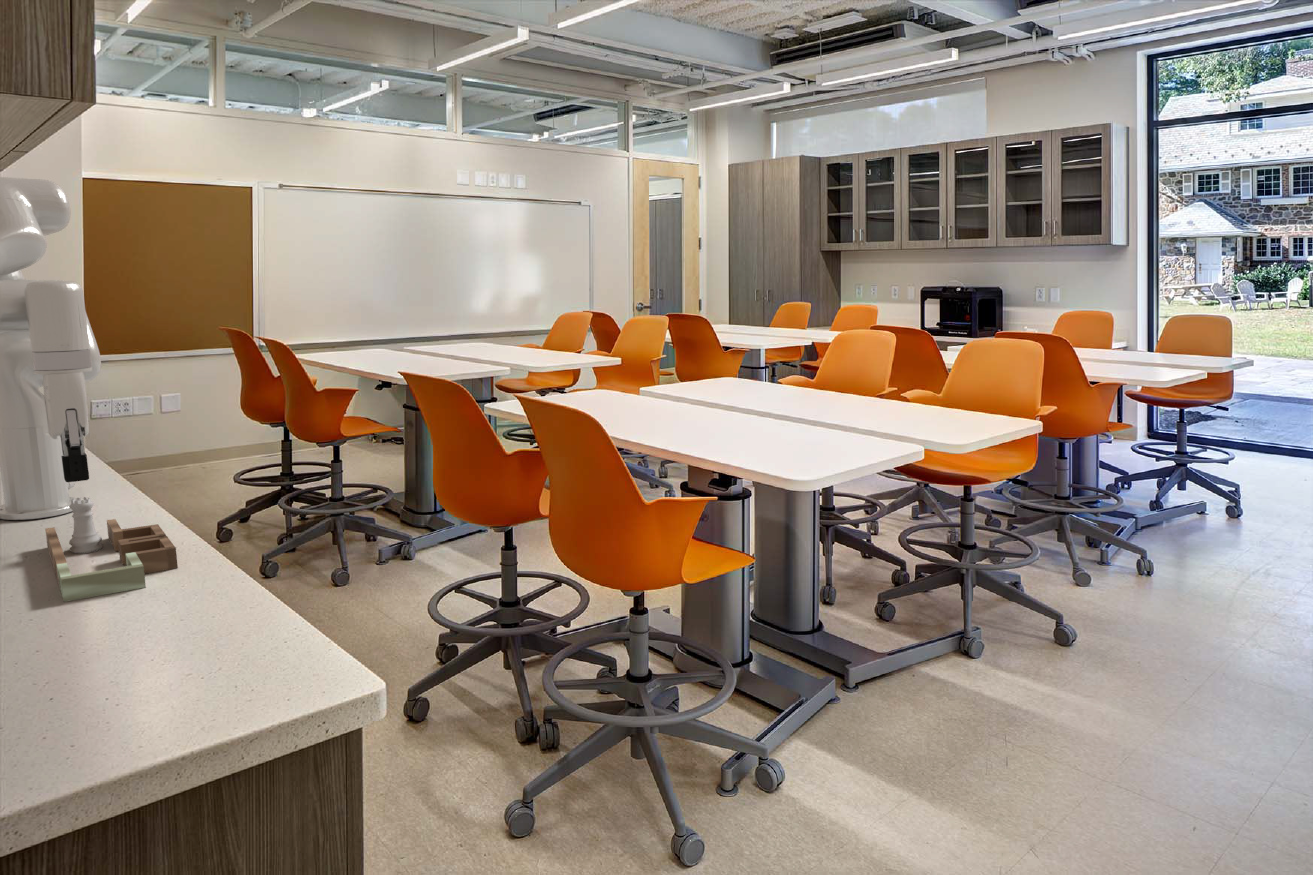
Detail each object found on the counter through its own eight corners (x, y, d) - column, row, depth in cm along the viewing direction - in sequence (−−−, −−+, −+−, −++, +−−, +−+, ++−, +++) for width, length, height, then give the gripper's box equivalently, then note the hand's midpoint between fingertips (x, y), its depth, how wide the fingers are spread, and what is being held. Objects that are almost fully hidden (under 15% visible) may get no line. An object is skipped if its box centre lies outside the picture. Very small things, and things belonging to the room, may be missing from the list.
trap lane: (47, 547, 143) (45, 528, 142) (152, 531, 151) (150, 514, 151) (63, 601, 120) (61, 579, 119) (186, 580, 128) (184, 559, 128)
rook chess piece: (87, 555, 139) (81, 503, 138) (62, 553, 140) (56, 502, 139) (110, 546, 144) (105, 496, 142) (85, 544, 145) (80, 494, 143)
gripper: (30, 361, 145) (45, 476, 148) (36, 367, 133) (52, 491, 136) (86, 358, 149) (99, 470, 152) (96, 363, 138) (110, 484, 140)
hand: (77, 480), depth 144 cm, fingers closed
